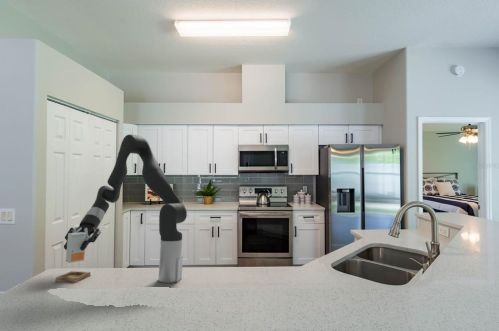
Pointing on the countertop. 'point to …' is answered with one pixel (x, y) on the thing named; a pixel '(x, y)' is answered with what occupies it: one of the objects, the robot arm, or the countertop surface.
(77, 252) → the skincare box
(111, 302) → the countertop surface
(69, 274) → the tray
